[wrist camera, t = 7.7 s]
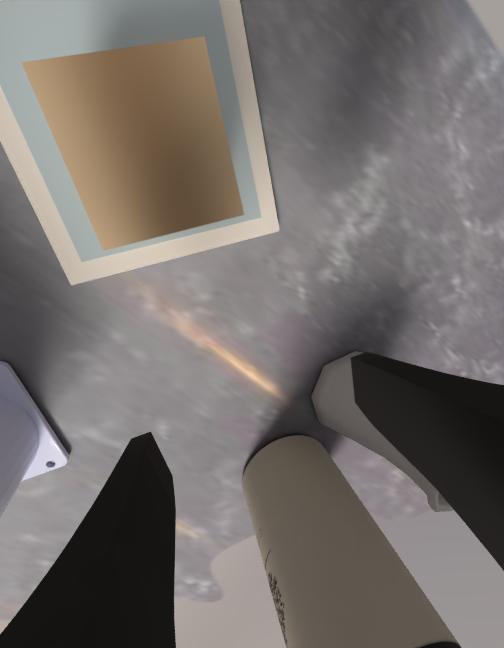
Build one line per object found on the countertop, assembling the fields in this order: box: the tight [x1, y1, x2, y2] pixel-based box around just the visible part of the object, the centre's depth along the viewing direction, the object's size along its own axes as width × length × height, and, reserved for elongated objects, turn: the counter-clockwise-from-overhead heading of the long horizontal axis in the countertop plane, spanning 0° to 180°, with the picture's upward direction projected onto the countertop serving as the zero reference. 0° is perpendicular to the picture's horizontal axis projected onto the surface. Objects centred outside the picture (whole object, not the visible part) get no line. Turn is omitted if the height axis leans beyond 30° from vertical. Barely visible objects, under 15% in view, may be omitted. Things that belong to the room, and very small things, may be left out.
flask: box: [311, 351, 454, 512], centre depth 19 cm, size 7×7×10 cm
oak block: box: [21, 37, 244, 251], centre depth 11 cm, size 5×5×6 cm
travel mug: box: [242, 435, 461, 648], centre depth 17 cm, size 8×8×18 cm
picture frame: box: [0, 0, 279, 285], centre depth 14 cm, size 12×12×1 cm
